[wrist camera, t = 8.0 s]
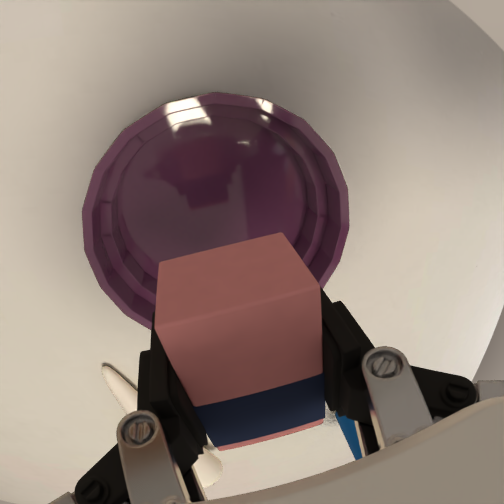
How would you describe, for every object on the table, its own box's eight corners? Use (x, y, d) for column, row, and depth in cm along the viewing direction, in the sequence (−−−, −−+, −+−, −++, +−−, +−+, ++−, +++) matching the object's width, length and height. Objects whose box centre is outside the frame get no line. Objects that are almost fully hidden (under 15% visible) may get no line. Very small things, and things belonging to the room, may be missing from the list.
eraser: (156, 261, 10) (150, 328, 7) (283, 230, 10) (323, 284, 7) (207, 389, 13) (218, 453, 10) (299, 365, 13) (325, 424, 11)
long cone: (165, 338, 28) (222, 450, 35) (105, 348, 28) (175, 454, 35) (155, 383, 22) (223, 487, 30) (88, 389, 23) (172, 490, 30)
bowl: (152, 58, 16) (143, 48, 12) (356, 157, 22) (391, 173, 18) (79, 267, 21) (62, 303, 17) (261, 323, 27) (274, 361, 23)
